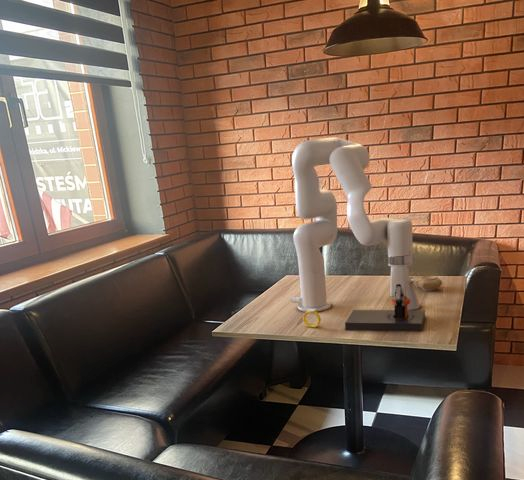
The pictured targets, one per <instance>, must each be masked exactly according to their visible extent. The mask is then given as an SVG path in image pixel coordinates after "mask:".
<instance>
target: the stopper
mask: <svg viewBox="0 0 524 480" xmlns="http://www.w3.org/2000/svg"><path fill="white" fill-rule="evenodd" d="M401 300H402V298H401ZM391 304H392V306H395V298H392V299H391ZM408 304H410V299H409V298H404V306H405V318H406V317H407V316H408V315H407V305H408ZM400 319H402V318H400Z"/></svg>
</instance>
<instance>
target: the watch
mask: <svg viewBox="0 0 524 480" xmlns="http://www.w3.org/2000/svg"><path fill="white" fill-rule="evenodd" d="M308 313H309V314H314V315H315V316H316V318H317V323H316V325H315V324H310V323H309V322H308V321H307V315H308ZM302 321H303V323H304V325H306V327H311V328H317V327H318V326H319V325H320V324H321V321H322V320H321V315H320V313H319V312H316V310H315V309H308V310H307V312H304V314H303V315H302Z"/></svg>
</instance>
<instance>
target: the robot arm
mask: <svg viewBox="0 0 524 480" xmlns="http://www.w3.org/2000/svg"><path fill="white" fill-rule="evenodd" d="M370 160H371V157H370V152H369V151H368V149H367V148H366V147H365V146H364V145H362V144H360V143H357V142H353V141H351V140H347V139H343V138H340V137H323V138H321V137H320V138H312V139H306V140H305V141H302V142H300V143H299V144H298V145H297V146H296V147H295V148H294V150H293V153H292V156H291V167H292V172H293V177H294V197H295V210H296V214H297V216H298V218H300V219H302V220H312V219H315V221H310V222H306V223H302V224H300V225H299V226H297V227H296V228H295V230H294V232H293V236H292V237H293V238H292V239H293V244H294V247H295V251H296V256H297V264H298V277H299V287H300V295H299V296H291V297H290V302H291V303H292V304H298V305H297V309H298V310H299V311H300V312H304V313H305V312H307V310H308V309H315V310H316V312H317V313H319V312H323V311H327V310H328V309H330V308H332V303H331V301H329V300H328V299H327V285H326V284H327V283H326V270H325V269H326V268H325V259H324V256H323V254H322V252H321V250H320V248H321V247H325V246H329V245H331V244H332V243H334V242H335V241H336V239H337V237H338V202H337V198H336V197H335V194H334V193H333V192H332V190H330V189H327V188H320V178H319V175H318V172H317V170H316V169H315V167H317V166H324V165H325V166H326V165H330V167H331V169H332V172H333V173H334V175H335V177H336V179H337V181H338V183H339V185H340V187H341V189H342V191H343V193H344V195H345V197H346V199H347V202H346V219H347V222H348V225H349V228H350V229H351V231H352V233H353V235H354V237H355V239H356V240H357V241H358V243H360V244H361V245H363V246H365V247H370V246H374V245H378V244H381V243H385V242H387V266H389V267H390V280H389V281H390V289H389V291H390V292H389V293H390V294H389V296H390V297H391V298H393V297H394V299H395V305H394V310H395V318H405V306H404V298H407V292H408V288H409V277H410V266H412V265H413V261H414V260H413V259H414V258H413V257H414V256H413V222H412V220H411V219H407V218H397V219H395V218H391V217H379V218H376V219H371V220H370V218H369V217H368V215H367V212H366V210H365V205H364V201H365V198H366V195H368V193H369V192H370V191H371V189H372V183H371V181H370V179H369V177H368V176H367V174H366V171H365V170H366V169H367V168H368V167H369V164H370ZM401 298H402V300H401Z"/></svg>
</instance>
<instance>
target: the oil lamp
mask: <svg viewBox="0 0 524 480" xmlns="http://www.w3.org/2000/svg"><path fill="white" fill-rule="evenodd" d="M409 279H413V280H414V282H413V286H416V287H418V288H420V289H422V291H425V292H433V291H436V290H437V289H438V288H440V287H441V286H442V285H443V281H442V279H441V278H439V277H438V276H436V275H425V276H422V277H418V276H417V275H416V276H415V275H414V276H409Z"/></svg>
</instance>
